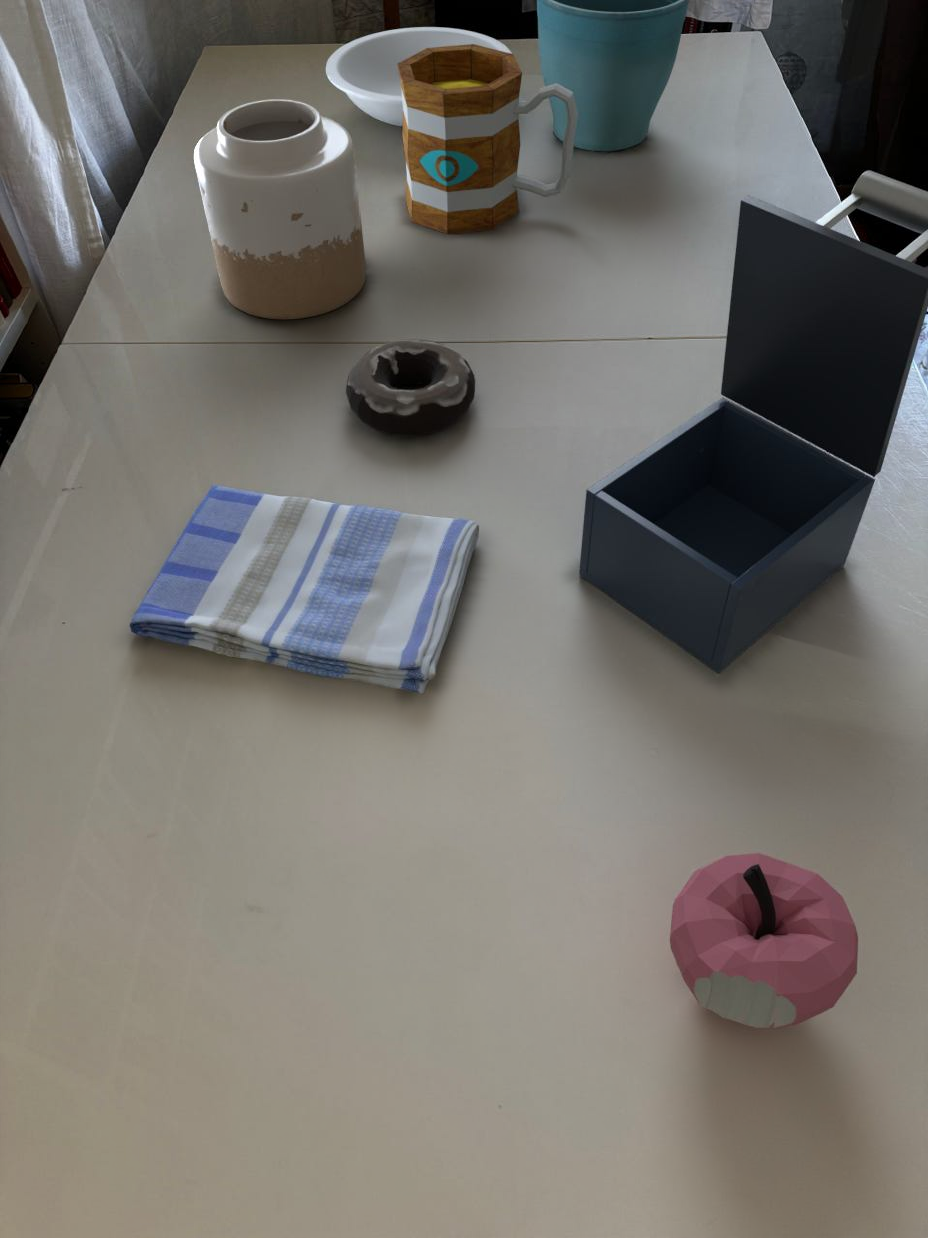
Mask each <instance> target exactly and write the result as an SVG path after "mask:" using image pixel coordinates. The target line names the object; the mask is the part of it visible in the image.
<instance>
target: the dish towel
mask: <svg viewBox="0 0 928 1238" xmlns="http://www.w3.org/2000/svg"><path fill="white" fill-rule="evenodd" d="M479 533H480V525H479V524H478V523H477V522H476V521H474V520H469V519H464V518H452V517H440V516H433V515H422V514H417V513H416V514H415V513H407V512H404V511H403V512H402V511H397V510H390V509H385V508H384V509H383V508H378V507H371V506H363V505H347V504H341V503H334V502H329V501H324V500H318V499H314V498H309V497H302V496H289V495H288V496H287V495H285V496H281V495H280V496H278V495H273V494H268V493H264V492H263V493H262V492H258V491H251V490H244V489H237V488H234V487H233V488H232V487H227V486H222V485H217V484H214V485H211V487H210V488H209V490H208V492H207V493H206V495H205V497H204V498H203V499H202V501H201V502H200V503H199V505H198V506H197V508H196V510H195V511H194V512H193V514H192V516H191V517H190V519H189V521H188V522H187V523H186V526H185V527H184V529H183V531H182V533H181V534H180V536H179V537H178V539H177V541H176V543H175V545H174V546H173V548H172V549H171V551H170V553H169V555H168V556H167V558H166V559H165V561H164V563H163V565H162V567H161V569H160V571H159V573H158V574H157V576H156V577H155V579H154V580H153V582H152V583H151V585H150V586H149V589H148V591H147V592H146V594H145V595H144V598H143V599H142V601H141V603H140V605H139V606H138V608H137V610H136V611H135V612H134V614H133V615H132V618H131V621H130V622H129V628H130V632H131V633H133V634H136V635H137V636H141V637H145V638H150V639H151V638H152V639H156V640H159V641H164V642H168V643H174V644H178V645H179V644H180V645H183V646H192V647H195V648H199V649H202V650H205V651H209V652H212V653H216V654H219V655H224V656H226V657H229V658H230V657H231V658H237V659H245V660H252V661H254V662H255V661H256V662H262V663H267V664H272V665H276V666H277V667H281V668H285V669H290V670H293V671H297V672H300V673H303V674H308V675H313V676H318V677H323V678H331V679H340V680H341V679H342V680H348V681H355V682H358V683H359V682H360V683H364V684H365V683H366V684H372V685H377V686H382V687H388V688H391V689H397V690H404V691H405V690H406V691H411V692H414V693H416V694H419V695H423V694H424V693H425V692H426V688H427V685H428V682H430V681H432V680H434V678H435V676H436V675H437V673H436V672H437V671H436V670H437V666H438V663H439V661H440V658H441V655H442V650H443V648H444V646H445V643H446V641H447V637H448V635H449V631H450V629H451V625H452V623H453V620H454V617H455V614H456V610H457V607H458V603H459V600H460V597H461V593H462V590H463V587H464V583H465V579H466V576H467V571H468V570H469V565H470V562H471V561H472V556H473V553H474V550H475V547H476V545H477V543H478V539H479Z"/></svg>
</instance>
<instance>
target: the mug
mask: <svg viewBox="0 0 928 1238" xmlns="http://www.w3.org/2000/svg"><path fill="white" fill-rule="evenodd" d="M511 53H512V52H511ZM511 53H507V52H503V51H499V50H495V49H491V48H487V47H483V46H479V45H475V44H469V45H457V46H445V47H433V48H426V49H424V50H422V51H420V52H418V53H417V54H415V55H413V56H411V57H409V58H407V59H405V60H403V61H401V62H400V63H398V70H399V76H400V82H401V87H402V102H403V126H402V130H401V131H402V132H401V133H402V134H401V135H402V143H403V149H404V157H405V169H406V191H405V202H406V205H407V206H406V207H407V211H408V213H409V218H410V222H411V223H415V224H418V225H420V226H423V227H426V228H429V229H432V230H434V231H437V232H441V233H443V234H446V235H453V234H454V235H455V234H463V233H471V232H472V233H475V232H484V231H493V230H495V229H496V228H498V227H500V225H502V224H503V223H505V222H506V221H507V220H509V219H510V218H511V217H513V216H514V215H516V214H517V213H518V212H520V206H519V196H518V190H522V191H525V192H529V193H532V194H535V195H538V196H540V197H543V198H548V197H551V196H554V195H558V194H561V192H562V190H564V187H565V186H566V184H567V182H568V181H569V180H570V178H571V171H572V167H573V166H572V165H573V158H574V157H573V155H574V146H573V145H574V136H575V131H576V125H577V119H578V112H577V108H576V104H575V100H574V96H573V92H572V91H570V90H568V89H566V88H564V87H563V86H561V85H559V84H557V83H556V84H552V85H549V86H546V87H545V86H543V87H540V88H538V90H537V91H536V92H535V93H534V94H533V95H532V96H531V97H530V98H529V99H527V100H520V92H521V85H522V78H523V72H522V69H521V67H520V66H519V63H518V61H517V59H516V57H515V55H514V54H513V53H512V54H511ZM553 96H555V97H557V98H558V99H560V100H562V101H564V102H566V108H567V115H568V120H567V125H566V129H565V134H564V139H563V141H562V152H561V153H562V154H561V168H560V174H559V175H558V178H557V179H556V181H555V182H552V183H548V184H547V183H544V182H542V181H540V180H538V179H536V178H532V177H529V176H525V175H521V174H518V168H519V160H520V152H521V136H520V135H521V133H520V120H519V117H520V116H519V115H527V114H529V113H531V112H533V111H534V110H535V109H537V107H539V105H540V104H541V103H543V102H544V101H545V100H548V99H549V98H550V97H553Z"/></svg>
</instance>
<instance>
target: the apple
mask: <svg viewBox="0 0 928 1238" xmlns="http://www.w3.org/2000/svg"><path fill="white" fill-rule="evenodd" d="M673 901H674V902H673V904H672V909H671V921H670V932H669V944H670V950H671V952H672V955H673V957H674V960H675V962H676V965H677V968H678V969H679V972H680V973H681V977H682V979H683V981H684V982H685V984H686V986H687V987H688V989H689V991H690V992H691V994H692V996H693V997H694V999H695V1000H696V1002H697V1003H698V1005H699V1006H701V1007H703V1008H704V1009H707V1010H710V1011H711V1012H713V1013H715V1014H716V1015H718V1016H720V1017H722V1018H723V1019H725V1020H726V1019H727V1020H730V1021H733V1022H734V1023H735V1022H736V1023H739V1024H741V1025H744V1026H749V1027H751V1028H756V1029H776V1028H783V1027H790V1026H796V1025H799V1024H801V1023H803V1022H805V1021H807V1020H810V1019H812V1018H815V1017H816V1016H819V1015H820V1014H823V1013H825V1012H827V1011H829V1010H830V1009H832V1008H834V1007H835V1006H836V1004H837V1003H838V1001H839V1000H840V998H841V997H842V996H843V994H844V993H845V991H846V990H847V989H848V987H849V986H850V984H851V983H852V981H853V980H854V978H855V977H856V975H857V974H858V954H859V935H858V932H857V927H856V924H855V921H854V919H853V917H852V915H851V912H850V910H849V908H848V905H847V904H846V901H845V899H844V897H843V895H841V893H839V892H838V891H837V890H836V889H835V888H834V887H833V886H832V885H831V884H830V883H829V882H827V881H826V880H825V879H824V878H823V877H822V876H821V875H820V874H819V873H817V872H814V871H812V870H809V869H807V868H802V867H801V866H797V865H795V864H792V863H789V862H786V861H783V860H781V859H778V858H775V857H772V856H769V855H766V854H763V853H760V852H755V853H753V852H752V853H744V854H731V855H730V854H729V855H724V856H722V857H720V858H718V859H716V860H714V861H713V862H711V863H708V864H706V865H705V866H702V867H701V868H698V869H697V870H695V871H694V872H693V873H692V875H691V876H690V877H689V879H688V880H687V882H685V885H684V886H683V888H682V889H681V890H680V892H679V893H678V894H677V896H676V897H675V899H674V900H673Z"/></svg>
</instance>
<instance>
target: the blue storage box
mask: <svg viewBox="0 0 928 1238" xmlns="http://www.w3.org/2000/svg"><path fill="white" fill-rule="evenodd" d="M875 481H876V479H875V477H873V476H871V475H869V474H867V473H865V472H864V471H862V470H860V469H858V468H856V467H854V466H853V465H851V464H849V463H847V462H845V461H843V460H841V459H840V458H838V457H836V456H834V455H832V454H830V453H828V452H827V451H825V450H823V449H821V448H819V447H817V446H815V445H814V444H812V443H810V442H808V441H806V440H804V439H802V438H801V437H799V436H797V435H795V434H793V433H791V432H789V431H788V430H786V429H784V428H782V427H780V426H778V425H777V424H775V423H773V422H771V421H769V420H767V419H765V418H764V417H762V416H760V415H758V414H756V413H754V412H752V411H751V410H749V409H747V408H745V407H743V406H741V405H739V404H738V403H736V402H734V401H731V400H730V399H728V398H726V397H721V398H720V399H718V400H717V401H715V402H713V403H712V404H710V405H709V406H707V407H706V408H705V409H704V410H702V411H700V412H699V413H698V414H696V415H695V416H692V417H691V418H690V419H689V420H687V421H686V422H684V423H682V424H681V425H680V426H678V427H677V428H675V429H674V430H672V431H671V432H669V433H668V434H666V435H665V436H664V437H662V438H660V439H659V440H657V441H656V442H655V443H653V444H652V445H650V446H649V447H647V448H646V449H644V450H643V451H642V452H639V454H637V455H635V456H634V457H632V458H631V459H630V460H628V461H627V462H625V463H623V464H622V465H621V466H619V467H618V468H616V469H614V471H611V472H610V473H609V474H608V475H606V476H605V477H603V478H602V479H600V480H599V481H597V482H596V483H594V484H593V485H591V486H590V487H589V488H586V489H585V490H586V492H585V500H584V501H585V502H584V514H583V525H582V536H581V547H580V558H579V571H578V576H579V577H581V578H582V579H584V580H585V581H587V582H588V583H589V584H591V585H592V586H594V587H595V588H596V589H598V590H599V591H601V592H602V593H603V594H605V595H606V596H608V597H609V598H611V599H612V600H614V601H615V602H616V603H618V604H619V605H620V606H622V608H625V609H626V610H628V611H629V612H630V613H632V614H633V615H635V616H636V617H637V618H639V619H640V620H641V621H643V622H645V623H646V624H647V625H649V626H650V627H652V629H654V630H656V631H657V632H658V633H660V634H662V636H664V637H666V638H667V639H669V640H670V641H671V642H673V643H674V644H676V645H677V646H679V647H680V648H681V649H683V650H684V651H686V653H689V654H690V655H691V656H693V657H694V658H696V659H697V660H698V661H700V662H701V663H702V664H704V665H705V666H707V667H708V668H709V669H711V670H712V671H713V672H715V673H716V674H721V673H722V672H723V671H724V670H725V669H727V667H728V666H730V665H731V664H732V663H734V661H736V660H737V659H738V658H739V657H741V655H743V654H744V653H745V652H746V651H747V650H748V649H750V647H752V646H753V645H754V644H756V642H758V641H759V640H760V639H761V638H762V637H764V635H766V634H767V633H768V632H769V631H770V630H772V629H773V628H774V627H775V626H777V624H779V623H780V622H781V621H782V620H783V619H784V618H786V617H787V616H788V615H789V614H790V613H791V612H792V611H793V610H795V609H796V608H797V607H798V606H800V604H802V603H803V602H804V601H806V599H808V597H810V596H811V595H812V594H813V593H814V592H815V591H817V590H818V589H819V588H820V587H821V586H823V584H825V583H826V582H827V581H828V580H829V579H830V578H832V577H833V576H834V575H835V574H836V573H837V572H839V571H840V570H841V569H842V568H844V567H845V565H846V563H847V560H848V557H849V554H850V551H851V549H852V545H853V543H854V540H855V538H856V534H857V533H858V530H859V527H860V523H861V521H862V518H863V515H864V512H865V510H866V507H867V504H868V501H869V498H870V495H871V492H872V490H873V488H874V486H875Z"/></svg>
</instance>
